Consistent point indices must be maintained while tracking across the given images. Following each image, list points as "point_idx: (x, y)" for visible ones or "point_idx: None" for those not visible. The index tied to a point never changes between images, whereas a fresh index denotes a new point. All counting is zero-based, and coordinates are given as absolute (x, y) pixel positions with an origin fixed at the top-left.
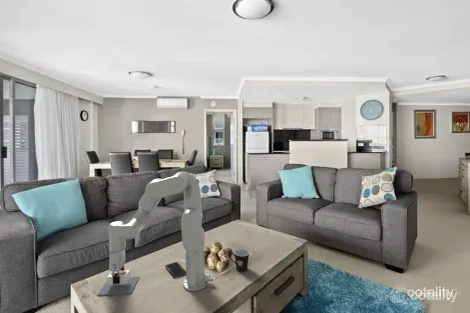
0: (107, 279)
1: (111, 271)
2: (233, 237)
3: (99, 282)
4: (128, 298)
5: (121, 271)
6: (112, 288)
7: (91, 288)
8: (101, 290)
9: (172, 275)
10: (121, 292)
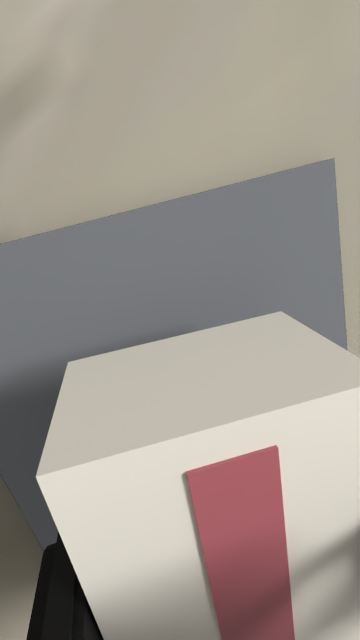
0: (55, 425)
1: (329, 394)
2: None
3: (229, 48)
4: (5, 624)
5: (329, 593)
6: None
7: (42, 2)
8: (17, 262)
9: None
10: (57, 532)
